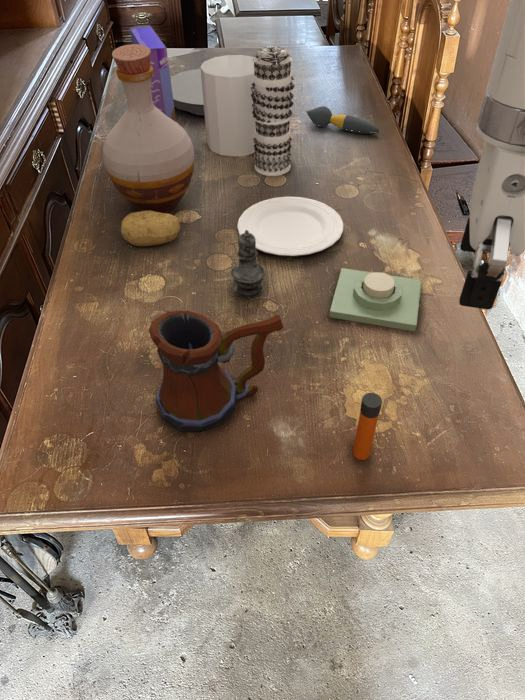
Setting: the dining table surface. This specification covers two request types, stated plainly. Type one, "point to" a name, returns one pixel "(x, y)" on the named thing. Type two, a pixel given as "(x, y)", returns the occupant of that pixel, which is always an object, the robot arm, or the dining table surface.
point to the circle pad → (378, 285)
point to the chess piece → (248, 268)
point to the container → (229, 104)
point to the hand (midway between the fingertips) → (474, 276)
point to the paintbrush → (340, 121)
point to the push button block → (376, 302)
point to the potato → (149, 228)
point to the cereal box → (157, 68)
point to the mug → (203, 367)
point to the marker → (366, 425)
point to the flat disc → (188, 91)
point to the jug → (146, 141)
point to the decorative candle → (272, 110)
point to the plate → (291, 226)
